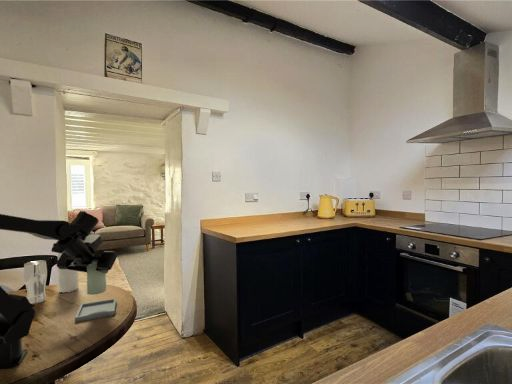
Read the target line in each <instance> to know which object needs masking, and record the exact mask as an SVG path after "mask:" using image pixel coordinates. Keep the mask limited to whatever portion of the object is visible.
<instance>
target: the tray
mask: <svg viewBox="0 0 512 384" xmlns="http://www.w3.org/2000/svg"><path fill="white" fill-rule="evenodd" d="M116 306H117V298H116V297H115V298H110V299H103V300H96V301H90V302H84V303H81V304H80V305H79V308H78V309H77V312H76V314H75V316H74V323H78V322H84V321H90V320H94V319H100V318H105V317H111V316H115V312H116Z"/></svg>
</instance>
